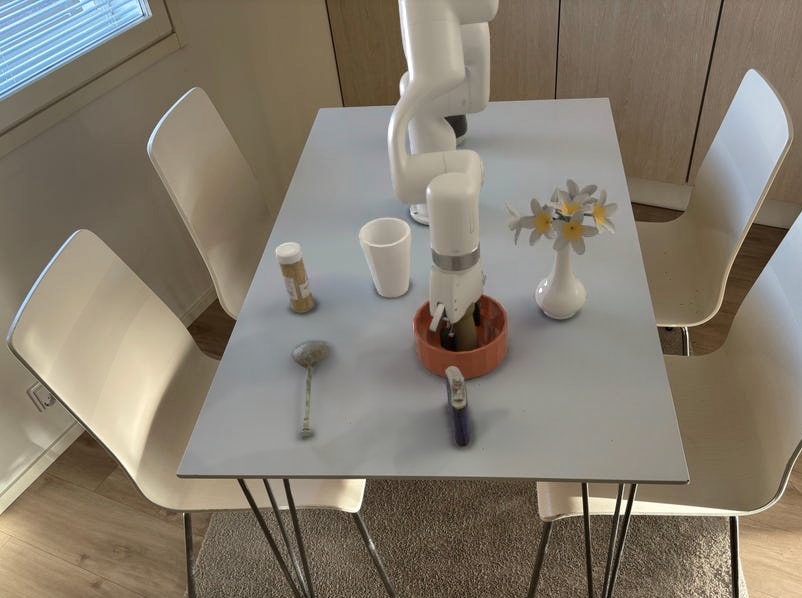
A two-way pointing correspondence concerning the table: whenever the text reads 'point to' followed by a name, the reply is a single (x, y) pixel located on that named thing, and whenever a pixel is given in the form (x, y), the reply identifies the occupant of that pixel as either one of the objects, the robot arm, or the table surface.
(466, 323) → the olive peg figure
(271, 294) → the table surface
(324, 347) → the soupspoon
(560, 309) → the flower vase
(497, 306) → the orange plant pot
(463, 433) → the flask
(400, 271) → the foam cup
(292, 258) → the sprinkles bottle
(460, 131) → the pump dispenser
